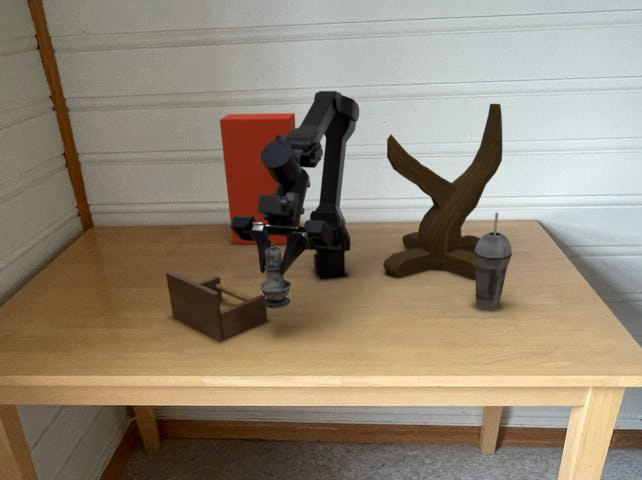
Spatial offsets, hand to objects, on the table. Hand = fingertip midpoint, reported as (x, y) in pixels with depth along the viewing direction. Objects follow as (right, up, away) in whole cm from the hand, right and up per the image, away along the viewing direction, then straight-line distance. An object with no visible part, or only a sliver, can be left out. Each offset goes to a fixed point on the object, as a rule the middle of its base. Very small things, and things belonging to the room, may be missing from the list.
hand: (271, 273), depth 117 cm
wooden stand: (+38, +8, +37) cm, 54 cm away
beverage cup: (+44, -5, +15) cm, 47 cm away
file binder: (-4, +17, +57) cm, 59 cm away
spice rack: (-12, -7, +15) cm, 20 cm away
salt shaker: (+1, -5, +5) cm, 7 cm away
